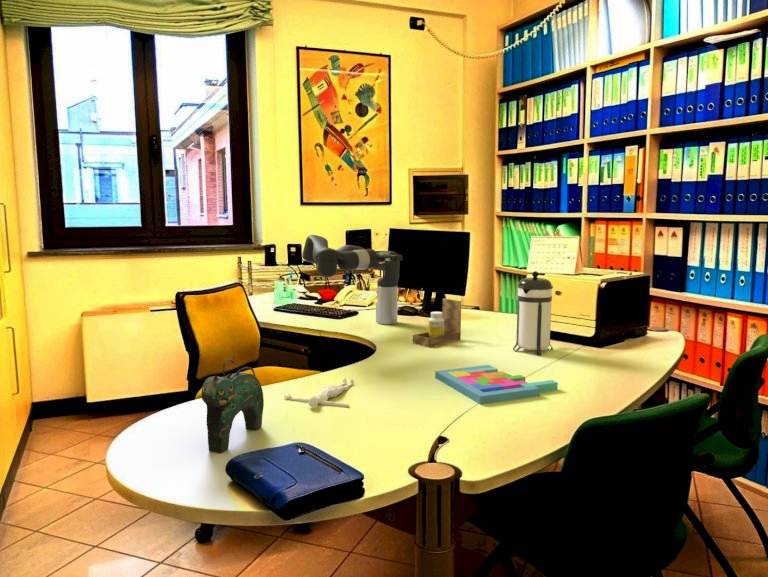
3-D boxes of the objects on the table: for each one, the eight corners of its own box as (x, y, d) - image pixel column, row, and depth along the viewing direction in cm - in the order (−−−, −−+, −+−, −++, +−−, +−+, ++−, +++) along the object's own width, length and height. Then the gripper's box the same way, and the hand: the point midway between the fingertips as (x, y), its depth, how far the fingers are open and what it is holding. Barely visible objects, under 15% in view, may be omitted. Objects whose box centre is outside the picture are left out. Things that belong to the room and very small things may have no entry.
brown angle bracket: (412, 343, 245) (412, 303, 243) (443, 336, 257) (444, 298, 255) (429, 347, 238) (429, 306, 236) (460, 340, 250) (461, 301, 248)
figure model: (376, 379, 187) (341, 400, 164) (376, 391, 187) (341, 414, 164) (315, 373, 194) (273, 392, 171) (315, 385, 195) (273, 406, 172)
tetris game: (480, 406, 171) (563, 394, 181) (480, 396, 171) (563, 385, 181) (435, 379, 197) (510, 370, 207) (435, 371, 197) (510, 362, 207)
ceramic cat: (220, 457, 136) (217, 369, 133) (196, 453, 138) (192, 366, 136) (269, 427, 154) (266, 348, 152) (247, 423, 157) (244, 346, 154)
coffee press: (561, 355, 225) (564, 273, 221) (517, 355, 225) (519, 273, 221) (548, 344, 242) (551, 268, 238) (507, 344, 242) (509, 268, 238)
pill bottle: (433, 337, 252) (433, 310, 250) (446, 339, 248) (447, 311, 247) (426, 340, 246) (426, 313, 245) (440, 342, 243) (440, 314, 242)
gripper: (374, 250, 227) (406, 248, 238) (350, 248, 238) (382, 246, 249) (375, 270, 228) (406, 267, 239) (351, 267, 239) (382, 264, 250)
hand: (394, 256), depth 244 cm, fingers open, 8 cm apart
